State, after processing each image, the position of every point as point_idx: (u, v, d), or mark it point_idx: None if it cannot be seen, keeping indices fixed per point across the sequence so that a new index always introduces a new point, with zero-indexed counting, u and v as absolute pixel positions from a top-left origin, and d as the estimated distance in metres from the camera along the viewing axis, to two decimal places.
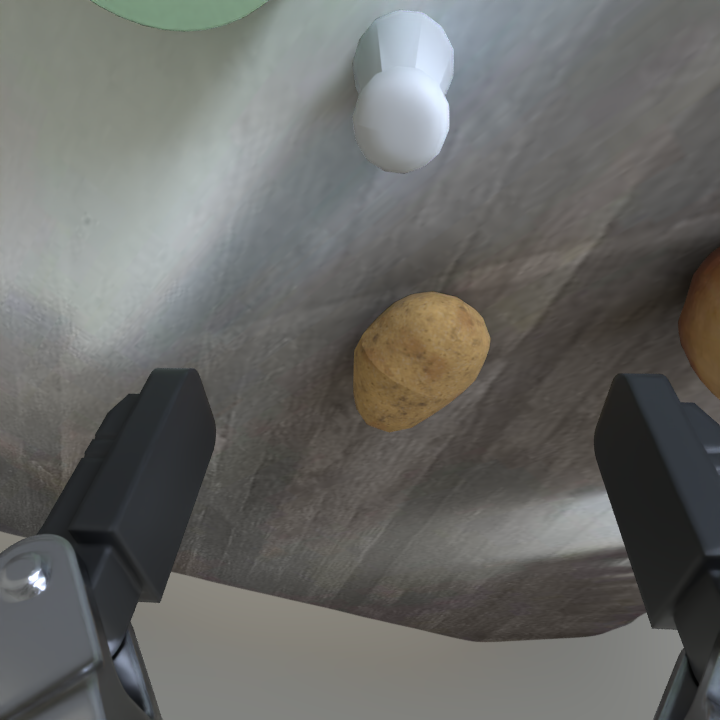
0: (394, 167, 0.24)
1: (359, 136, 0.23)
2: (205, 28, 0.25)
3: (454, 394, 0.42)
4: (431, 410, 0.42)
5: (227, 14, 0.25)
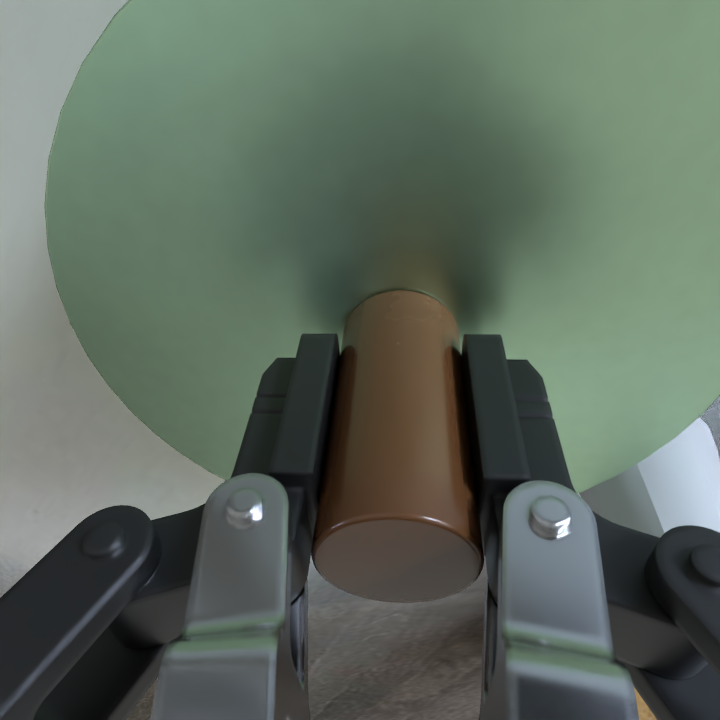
0: None
1: None
2: None
3: None
4: None
5: None
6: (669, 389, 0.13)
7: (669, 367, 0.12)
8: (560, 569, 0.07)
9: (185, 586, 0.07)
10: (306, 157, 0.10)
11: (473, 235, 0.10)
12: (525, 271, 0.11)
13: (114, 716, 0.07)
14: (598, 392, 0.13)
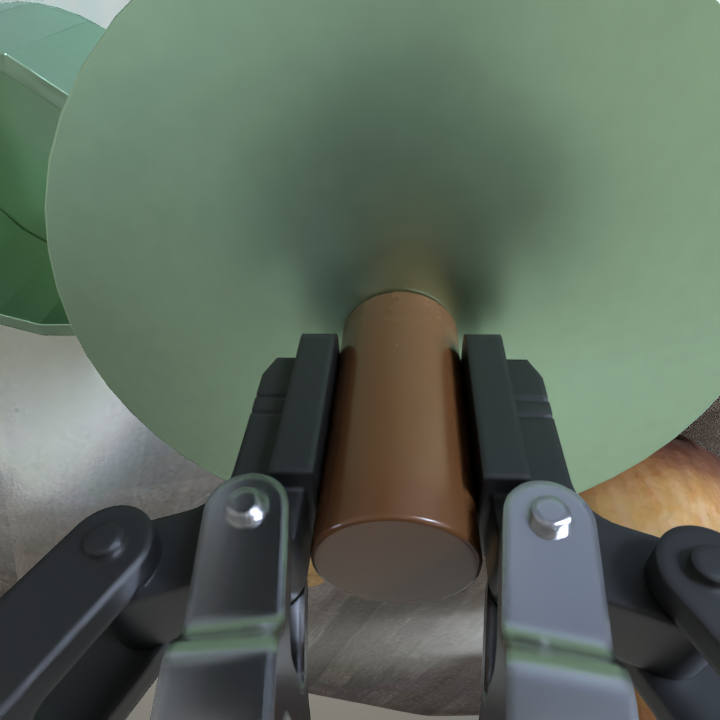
0: None
1: None
2: None
3: None
4: None
5: None
6: (667, 390, 0.13)
7: (668, 368, 0.12)
8: (560, 569, 0.07)
9: (185, 586, 0.07)
10: (305, 159, 0.10)
11: (471, 236, 0.10)
12: (524, 272, 0.11)
13: (115, 716, 0.07)
14: (597, 393, 0.13)
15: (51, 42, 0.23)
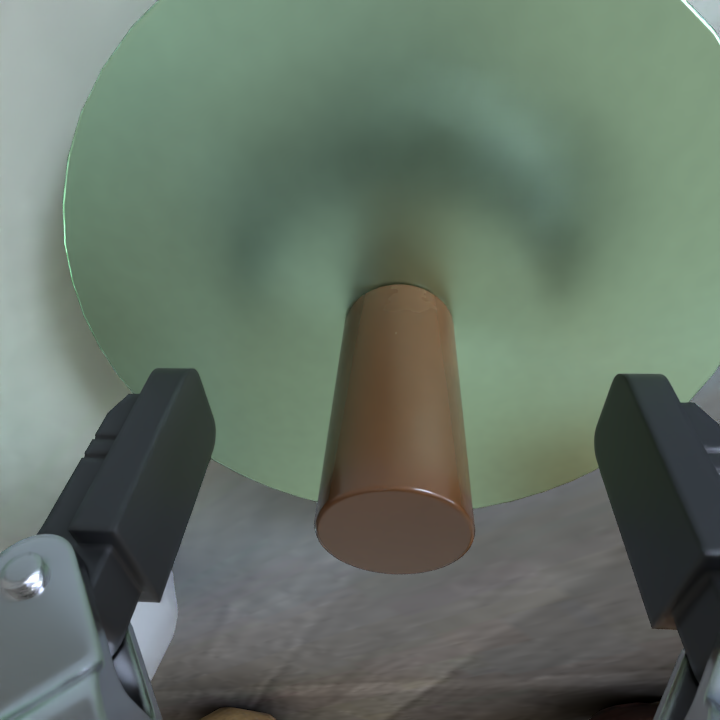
0: None
1: None
2: None
3: None
4: None
5: None
6: None
7: (654, 359, 0.13)
8: None
9: None
10: (310, 158, 0.10)
11: (466, 232, 0.11)
12: (516, 266, 0.11)
13: None
14: (586, 382, 0.13)
15: None
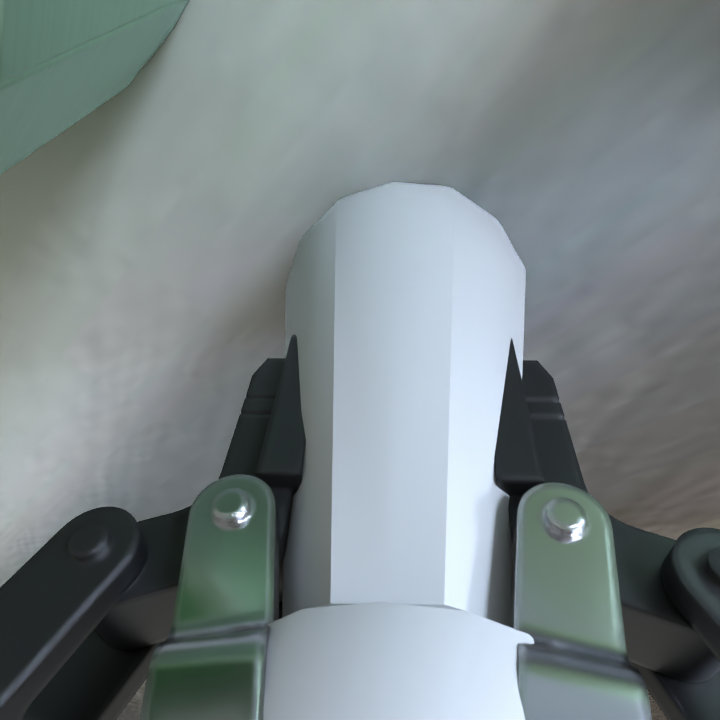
0: None
1: None
2: None
3: None
4: None
5: None
6: None
7: None
8: (576, 572, 0.07)
9: (172, 585, 0.07)
10: None
11: None
12: None
13: (103, 718, 0.07)
14: None
15: None
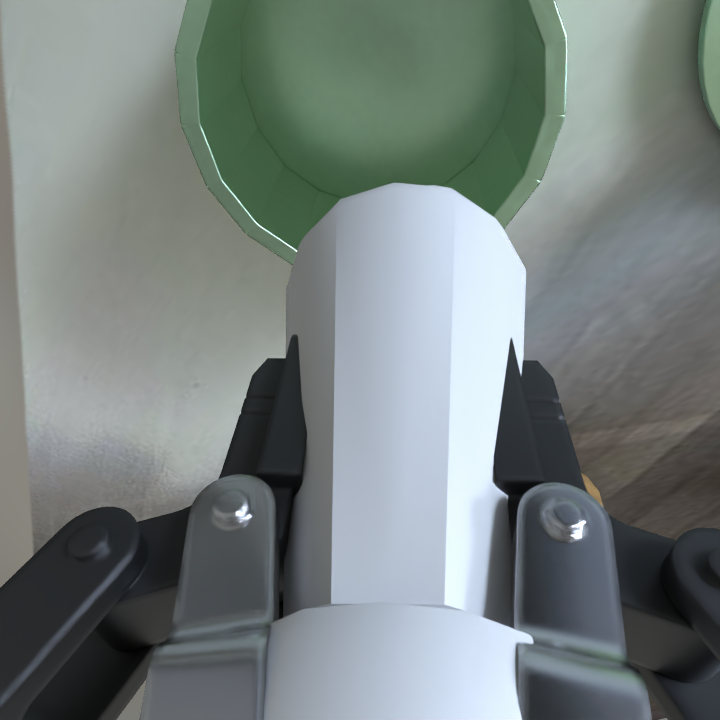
0: None
1: None
2: None
3: None
4: None
5: None
6: None
7: None
8: (576, 572, 0.07)
9: (172, 585, 0.07)
10: None
11: None
12: None
13: (104, 718, 0.07)
14: None
15: None
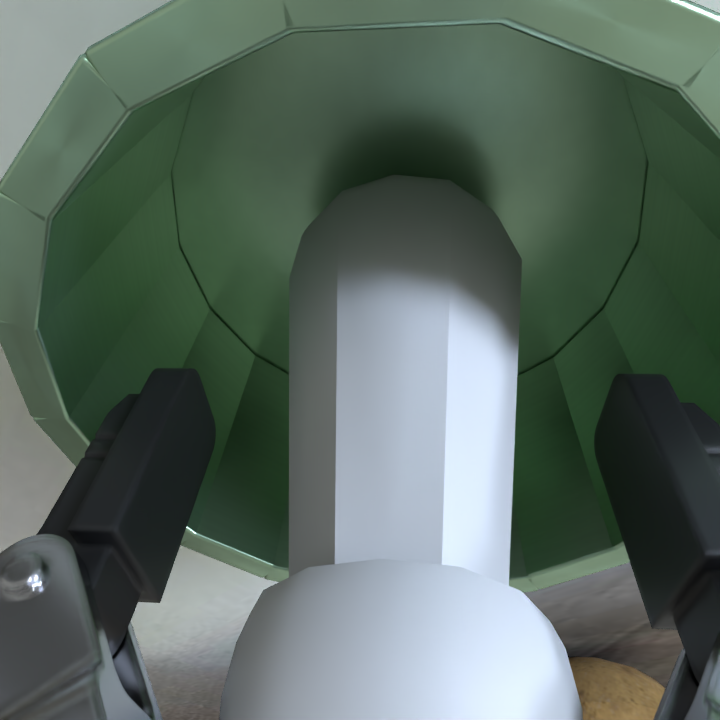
0: None
1: None
2: None
3: None
4: None
5: None
6: None
7: None
8: None
9: None
10: None
11: None
12: None
13: None
14: None
15: None
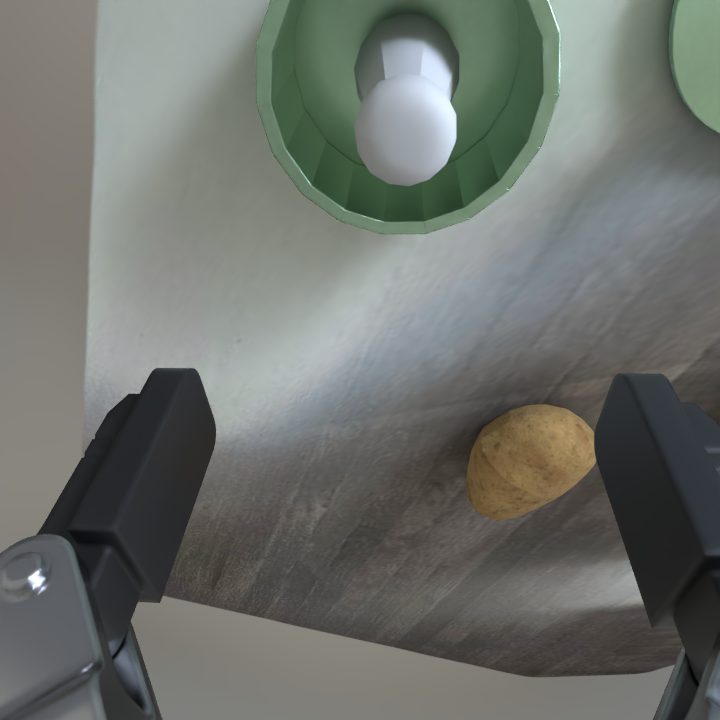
0: (398, 179, 0.23)
1: (361, 147, 0.22)
2: None
3: (563, 493, 0.47)
4: (540, 505, 0.48)
5: None
6: None
7: None
8: None
9: None
10: None
11: None
12: None
13: None
14: None
15: None
